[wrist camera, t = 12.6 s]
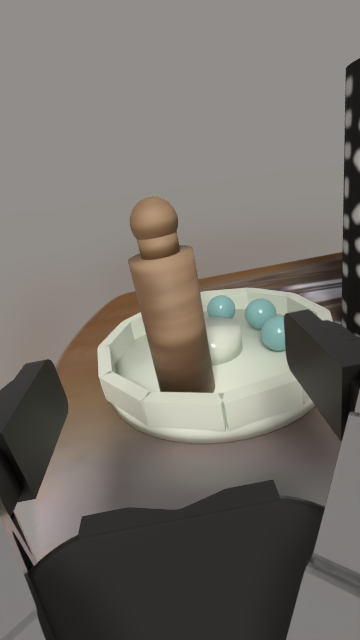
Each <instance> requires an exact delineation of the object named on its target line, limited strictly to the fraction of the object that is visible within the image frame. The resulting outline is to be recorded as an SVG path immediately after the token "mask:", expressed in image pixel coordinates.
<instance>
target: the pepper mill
mask: <svg viewBox="0 0 360 640" xmlns="http://www.w3.org/2000/svg"><path fill="white" fill-rule="evenodd" d="M130 227H131V230H132V233H133V234H134V236H135V237H136V239H137V242H138V247H139V251H140V254H137V255H135V256H133V257H131V258H130V259H129V260H128V262H129V266H130V271H131V275H132V279H133V283H134V287H135V291H136V295H137V299H138V303H139V307H140V311H141V315H142V319H143V323H144V327H145V332H146V336H147V340H148V344H149V348H150V352H151V356H152V360H153V364H154V368H155V372H156V376H157V380H158V384H159V388H160V392H191V393H213V392H214V390H215V381H214V375H213V368H212V362H211V356H210V350H209V344H208V338H207V331H206V325H205V319H204V313H203V307H202V301H201V294H200V288H199V282H198V276H197V270H196V264H195V258H194V252H193V248H192V247H190V246H179V243H178V237H177V231H176V230H177V227H178V218H177V214H176V212H175V210H174V208H173V206H172V205H171V204H170V203H169V202H167V201H166V200H164V199H162V198H159V197H148V198H145V199H143V200H141V201H139V202H138V203H137V204H136V205H135V207H134V208H133V210H132V212H131V216H130Z"/></svg>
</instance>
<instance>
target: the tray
mask: <svg viewBox="0 0 360 640" xmlns="http://www.w3.org/2000/svg"><path fill="white" fill-rule="evenodd" d="M200 294H201V301H202V307H203V313H204V319H205V325H206V331H207V338H208V344H209V350H210V356H211V362H212V368H213V375H214V381H215V390H214V392H213V393H191V392H160V388H159V384H158V380H157V376H156V372H155V368H154V364H153V360H152V356H151V352H150V348H149V344H148V340H147V336H146V332H145V327H144V323H143V319H142V315H141V312H140V313H138V314H136V315H134V316H132V317H130V318H128V319H126V320H124V321H123V322H121V323H120V324H119V325H118V326H117V327H116V328H115V330H114V331H113V332H112V333H111V334H110V335H109V336H108V337H107V338H106V339H105V340H104V341H103V342H102V343H101V344H100V345H99V346H98V373H99V379H100V382H101V385H102V388H103V391H104V394H105V397H106V399H107V400H108V401H109V402H111V404H112V406H113V408H114V410H115V411H116V413H117V414H118V415H119V416H120V418H122V419H123V420H124V421H125V422H126V423H128V424H129V425H130V426H132V427H134V428H135V429H137V430H139V431H141V432H143V433H145V434H148V435H151V436H153V437H156V438H160V439H164V440H168V441H173V442H181V443H189V444H214V443H226V442H233V441H239V440H244V439H250V438H253V437H256V436H260V435H263V434H267V433H270V432H272V431H275V430H277V429H279V428H282V427H284V426H286V425H288V424H290V423H292V422H294V421H296V420H297V419H299V418H301V417H302V416H304V415H305V414H306V413H308V412H309V411H310V410H312V409H313V408H314V407H315V404H314V403H313V402H312V400H311V399H310V398H309V396H308V395H307V393H306V392H305V391H304V389H303V388H302V386H301V385H300V384H299V382H298V381H297V379H296V378H295V377H294V375H293V374H292V372H291V371H290V369H289V366H288V363H287V359H286V349H285V333H284V315H285V314H286V313H290V312H295V311H300V310H305V309H309V310H310V311H312V312H313V313H314V314H315V315H317V316H318V317H319V318H320V319H321V320H323V321H324V320H329V321H332V322H333V320H332V317H331V313H330V311H329V310H328V309H326V308H324V307H322V306H320V305H318V304H316V303H314V302H312V301H310V300H308V299H306V298H304V297H301V296H299V295H297V294H294V293H290V292H282V291H274V290H265V289H257V288H239V289H226V290H214V291H204V292H200Z"/></svg>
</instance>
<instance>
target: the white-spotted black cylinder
mask: <svg viewBox="0 0 360 640" xmlns="http://www.w3.org/2000/svg"><path fill="white" fill-rule="evenodd" d="M344 150H345V151H344V206H343V207H344V208H343V263H342V320H341V323H342V325H343V326H344V327H345V328H346V329H348V330H349V331H350V332H352V334H354V335H356V336H358V337H360V58H359V59H358V60H356V61H354V62H353V63H351V64H350V65H348V66H347V68H346V93H345V149H344Z"/></svg>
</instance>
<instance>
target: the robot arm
mask: <svg viewBox="0 0 360 640" xmlns="http://www.w3.org/2000/svg"><path fill="white" fill-rule="evenodd" d="M284 333H285V349H286V359H287V363H288V366H289V369H290V371H291V372H292V374H293V375H294V377H295V378H296V379H297V381H298V382H299V384H300V385H301V386H302V388H303V389H304V391H305V392H306V393H307V395H308V396H309V398H310V399H311V400H312V402H313V403H314V404H315V406H316V407H317V409H318V410H319V411H320V413H321V414H322V416H323V417H324V418H325V420H326V421H327V423H328V424H329V425H330V427H331V428H332V430H333V431H334V432H335V434H336V435H337V437H338V438H339V439H340V441H342V443H341V447H340V451H339V455H338V459H337V463H336V467H335V471H334V475H333V479H332V482H331V486H330V490H329V494H328V498H327V502H326V506H325V507H324V506H321V505H319V504H316V503H314V502H311V501H307V500H304V499H300V498H294V497H288V496H279V494H278V491H277V489H276V486H275V484H274V481H273V480H269V481H264V482H259V483H254V484H249V485H243V486H238V487H233V488H228V489H224V490H222V491H220V492H218V493H216V494H213V495H211V496H209V497H207V498H205V499H202V500H200V501H198V502H196V503H194V504H191V505H189V506H187V507H185V508H182V509H179V510H163V509H146V508H124V509H118V510H113V511H108V512H103V513H98V514H92V515H87V516H82V519H81V524H80V528H79V533H78V535H77V536H75V537H73V538H71V539H69V540H68V541H66V542H64V543H62V544H61V545H59V546H58V547H56V548H55V549H54V550H52V551H51V552H49V553H48V554H47V555H46V556H45V557H43V558H42V559H41V560H40V561H39V562H37V560H36V558H35V555H34V553H33V551H32V549H31V546H30V544H29V542H28V540H27V537H26V535H25V533H24V531H23V528H22V526H21V524H20V522H19V520H18V517H17V516H16V514H15V512H14V509H15V506H16V504H17V502H22V501H27V500H32V499H36V496H37V494H38V491H39V488H40V486H41V483H42V480H43V478H44V475H45V473H46V470H47V467H48V465H49V462H50V459H51V457H52V454H53V451H54V449H55V446H56V443H57V441H58V438H59V435H60V433H61V430H62V427H63V425H64V422H65V419H66V417H67V414H68V401H67V397H66V394H65V392H64V389H63V387H62V384H61V382H60V379H59V376H58V374H57V371H56V369H55V366H54V364H53V363H52V361H51V360H48V359H47V360H42V361H37V362H32V363H27V364H25V365H24V366H23V368H22V369H21V370H20V372H19V373H18V375H17V376H16V377H15V379H14V380H13V381H11V382H10V383H9V384H7V385H6V386H5V387H4V388H2V389H1V390H0V640H360V339H359V338H358V337H357V336H356V335H354V334H352V332H350V331H349V330H348V329H346V328H345V327H344V326H342V325H341V324H338V323H335V322H332V321H329V320H324V321H323V320H321V319H320V318H319V317H318V316H317V315H315V314H314V313H313V312H312V311H310V310H309V309H305V310H300V311H295V312H290V313H286V314H285V315H284Z"/></svg>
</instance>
